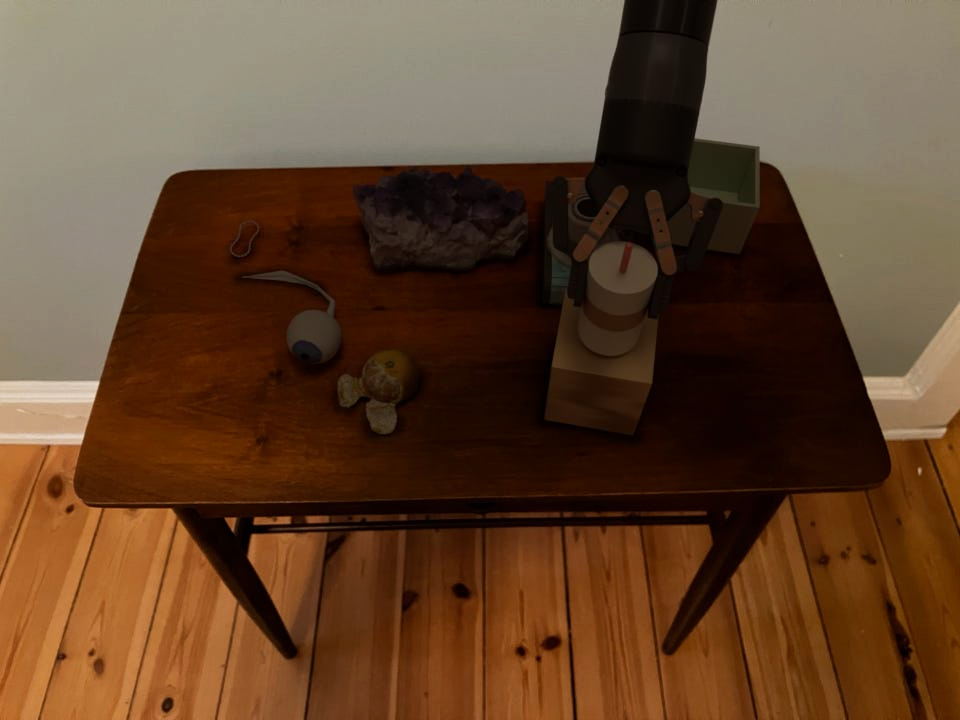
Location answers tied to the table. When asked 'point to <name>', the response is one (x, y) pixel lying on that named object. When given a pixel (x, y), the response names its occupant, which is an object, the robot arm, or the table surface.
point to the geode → (441, 220)
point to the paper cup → (616, 297)
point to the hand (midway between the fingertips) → (614, 311)
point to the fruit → (381, 387)
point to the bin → (722, 193)
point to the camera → (578, 224)
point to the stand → (599, 378)
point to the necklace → (250, 240)
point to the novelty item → (310, 325)
